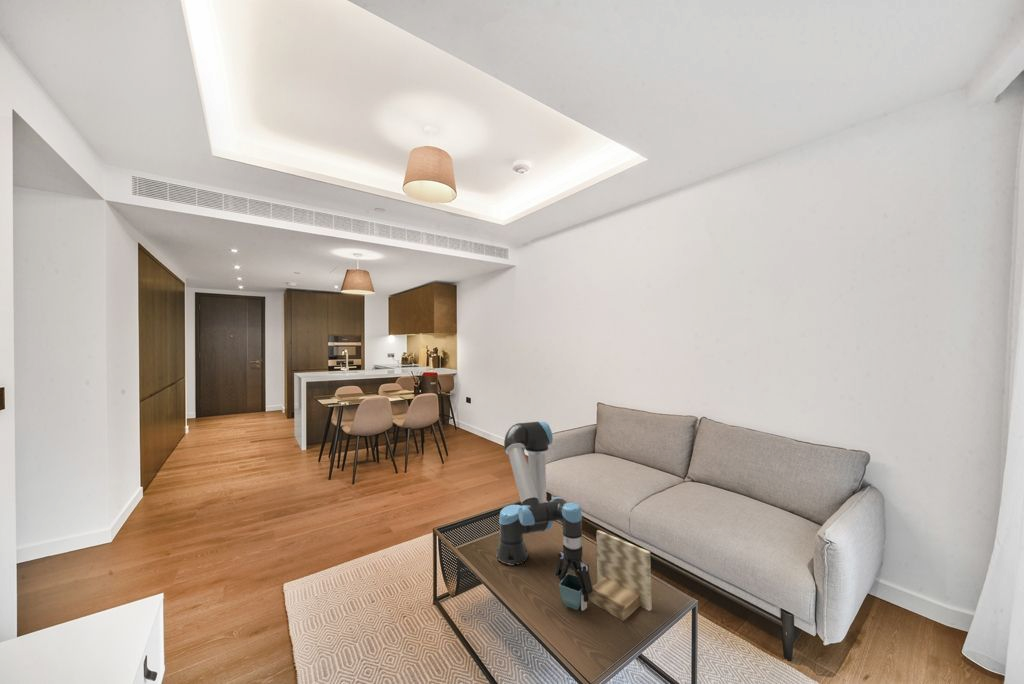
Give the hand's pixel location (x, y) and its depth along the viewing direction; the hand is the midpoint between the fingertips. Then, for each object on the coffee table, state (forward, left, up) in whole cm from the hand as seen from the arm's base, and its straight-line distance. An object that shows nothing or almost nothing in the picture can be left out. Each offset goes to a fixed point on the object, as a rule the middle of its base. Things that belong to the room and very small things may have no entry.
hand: (573, 602), depth 145 cm
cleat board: (+10, +13, -1) cm, 16 cm away
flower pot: (0, 0, -1) cm, 1 cm away
